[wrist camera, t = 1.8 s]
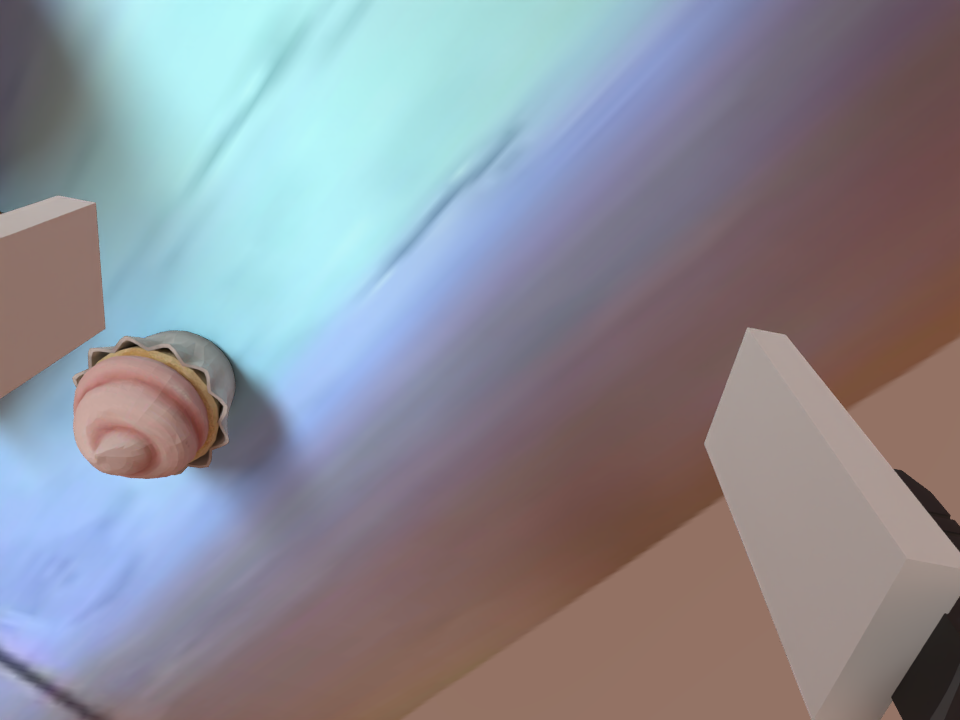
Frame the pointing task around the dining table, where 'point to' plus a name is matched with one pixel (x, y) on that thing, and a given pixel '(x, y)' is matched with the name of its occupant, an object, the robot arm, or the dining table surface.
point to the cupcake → (153, 404)
